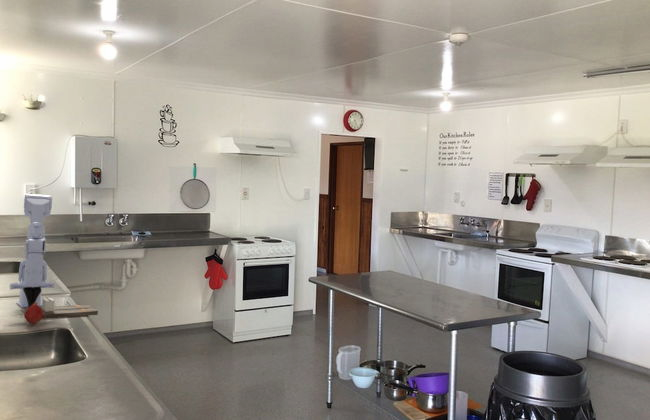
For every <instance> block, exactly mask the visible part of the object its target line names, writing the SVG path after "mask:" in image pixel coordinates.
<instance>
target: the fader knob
mask: <svg viewBox="0 0 650 420" xmlns="http://www.w3.org/2000/svg"><path fill="white" fill-rule="evenodd" d="M41 303H42V306H41V307H42V309H43V310H44V311H45V312H48V311H54V306H55V299H54V298H52V297H45V298H44V297H41Z"/></svg>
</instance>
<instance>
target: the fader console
mask: <svg viewBox="0 0 650 420" xmlns="http://www.w3.org/2000/svg"><path fill="white" fill-rule="evenodd" d="M40 307H41V309H42V306H40ZM42 310H43V309H42ZM97 315H99V310H97V309H96V308H94V306H91V305H89V304H75V305H74V304H73V305H58V306H57V305H56V306H55V305H54V311H48V312H45V311H44V310H43V318H42V319H41V320H44V319H57V318H58V317H60V318H70V317H71V318H72V317H85V316H87V317H88V316H97ZM58 319H59V318H58Z"/></svg>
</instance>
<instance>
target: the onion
mask: <svg viewBox="0 0 650 420" xmlns="http://www.w3.org/2000/svg"><path fill="white" fill-rule="evenodd" d="M41 307H42V306H40V307H39V306H38V305H37V302H35V303H34V304H32V305H31V306H30V307H26V309H25V312H24V314H23V315H24V319H25V321H26V322H27V323H29V324H30V325H32V326H35V325H37V324H38V323H39V322H40V321H41V320H43V319H42V318H43V310H42V309H41Z"/></svg>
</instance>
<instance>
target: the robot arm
mask: <svg viewBox="0 0 650 420" xmlns="http://www.w3.org/2000/svg"><path fill="white" fill-rule="evenodd" d="M23 201H24V202H23V203H24V204H23V212H24V215H25V216H27V217H28V218H29V221H30V224H29V225H28V227H27V236H26V240H25V247H24V253H25V257H24V258H25V259H24V260H22V261H20V263H19V268H18V281H19V282H10V283H9V289H10V290H19V299H18V301H16V304H17V305H18V306H20V307H21V308H28V307H30V306H31V305H32V304H34V303H35V302H37V305H38V306H39V307H42V291H43V289H45V288H46V289H48V288H51V289H54V288H55V282H54V281H47V274H48V264H47V262H46V261H45V260H44V254H45V253H46V244H47V243H46V236H45V235H46V234H45V233H46V226H45V225H44V224H43V222H44V220H45V218H48V217H50V215H51V212H52V206H53V205H52V204H53V196H52V194H50V195H48V194H32V193H25V194H24V200H23Z"/></svg>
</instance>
